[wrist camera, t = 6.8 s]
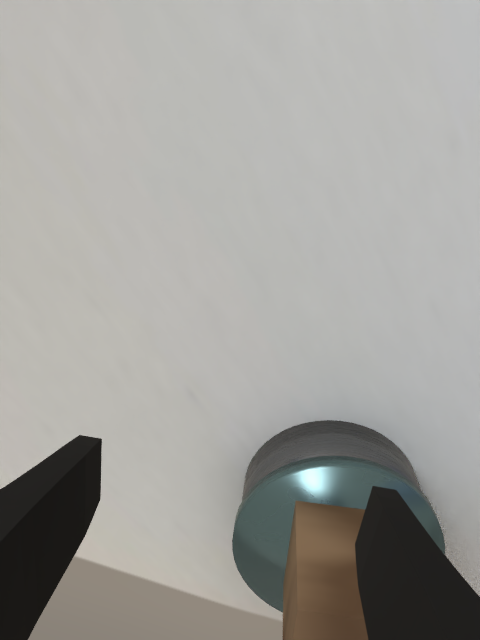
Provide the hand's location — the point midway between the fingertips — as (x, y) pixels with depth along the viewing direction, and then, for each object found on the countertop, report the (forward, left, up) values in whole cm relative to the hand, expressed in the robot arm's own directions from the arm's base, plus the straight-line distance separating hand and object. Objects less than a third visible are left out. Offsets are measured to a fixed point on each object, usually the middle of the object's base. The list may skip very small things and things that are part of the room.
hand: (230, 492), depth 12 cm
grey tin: (-5, +8, -10) cm, 14 cm away
